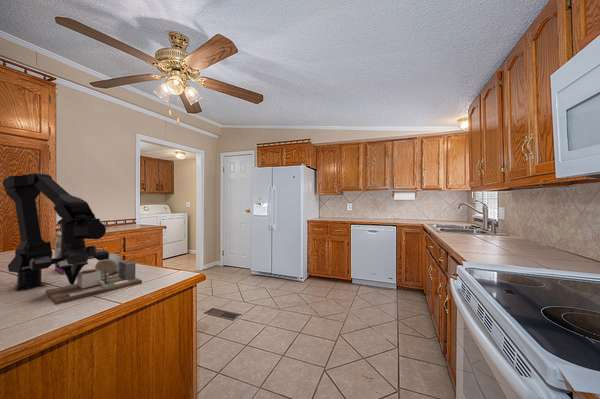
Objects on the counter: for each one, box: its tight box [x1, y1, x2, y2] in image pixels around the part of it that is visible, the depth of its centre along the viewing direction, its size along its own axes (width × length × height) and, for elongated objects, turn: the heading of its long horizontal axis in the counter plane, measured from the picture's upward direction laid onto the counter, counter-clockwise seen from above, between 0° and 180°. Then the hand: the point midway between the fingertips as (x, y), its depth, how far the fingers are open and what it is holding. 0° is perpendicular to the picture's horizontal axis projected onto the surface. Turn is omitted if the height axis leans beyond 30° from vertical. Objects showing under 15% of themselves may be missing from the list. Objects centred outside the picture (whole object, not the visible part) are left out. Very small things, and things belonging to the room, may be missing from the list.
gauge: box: [76, 268, 110, 288], centre depth 84 cm, size 10×8×5 cm
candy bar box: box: [54, 232, 73, 276], centre depth 103 cm, size 11×5×16 cm, turn 58°
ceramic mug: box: [94, 253, 123, 276], centre depth 102 cm, size 11×8×8 cm
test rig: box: [45, 259, 143, 305], centre depth 85 cm, size 14×23×7 cm, turn 145°
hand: (71, 284), depth 81 cm, fingers closed
